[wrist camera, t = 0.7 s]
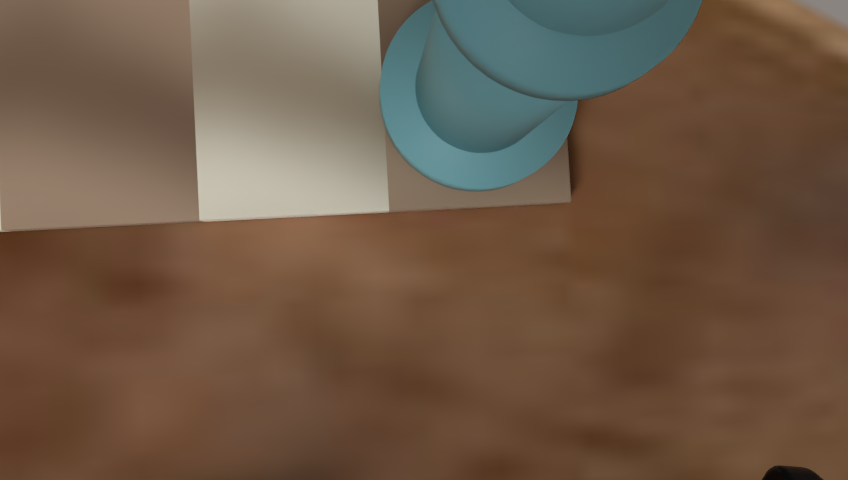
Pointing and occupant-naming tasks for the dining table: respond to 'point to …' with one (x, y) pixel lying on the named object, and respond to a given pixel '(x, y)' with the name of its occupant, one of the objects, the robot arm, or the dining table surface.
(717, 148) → the dining table surface
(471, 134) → the pawn
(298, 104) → the board
